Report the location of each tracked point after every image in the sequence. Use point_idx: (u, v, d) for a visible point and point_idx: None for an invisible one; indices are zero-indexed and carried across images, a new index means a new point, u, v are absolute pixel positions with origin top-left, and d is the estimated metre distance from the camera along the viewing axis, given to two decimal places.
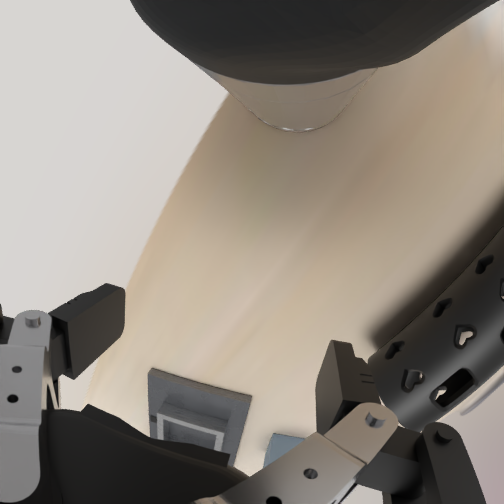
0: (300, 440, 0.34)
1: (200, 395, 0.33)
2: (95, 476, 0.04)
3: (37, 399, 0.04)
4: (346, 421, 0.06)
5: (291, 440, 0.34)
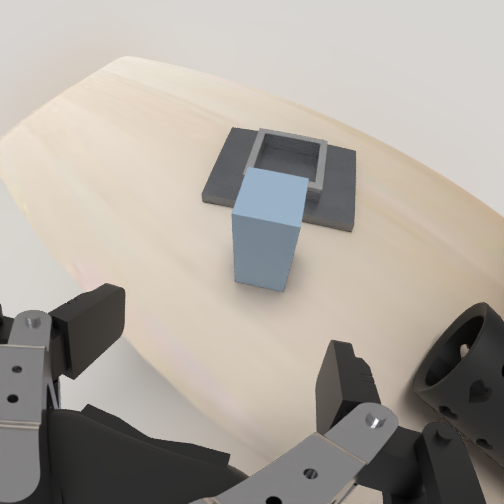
0: None
1: (348, 184, 0.34)
2: (95, 476, 0.04)
3: (37, 399, 0.04)
4: (346, 421, 0.06)
5: None
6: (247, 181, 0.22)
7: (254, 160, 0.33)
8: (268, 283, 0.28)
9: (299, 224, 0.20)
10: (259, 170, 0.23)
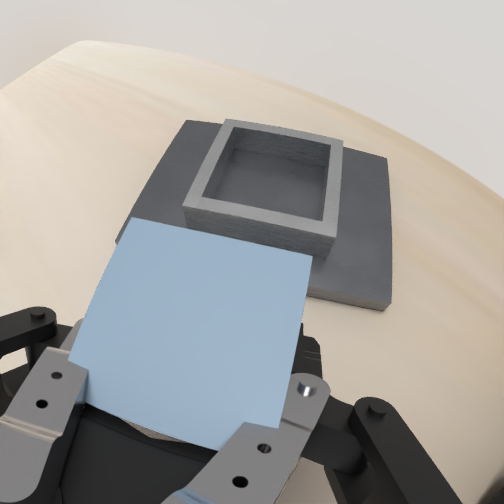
0: None
1: (380, 220, 0.19)
2: (95, 476, 0.04)
3: (67, 410, 0.04)
4: None
5: None
6: (118, 269, 0.07)
7: (207, 177, 0.18)
8: None
9: None
10: (160, 229, 0.07)
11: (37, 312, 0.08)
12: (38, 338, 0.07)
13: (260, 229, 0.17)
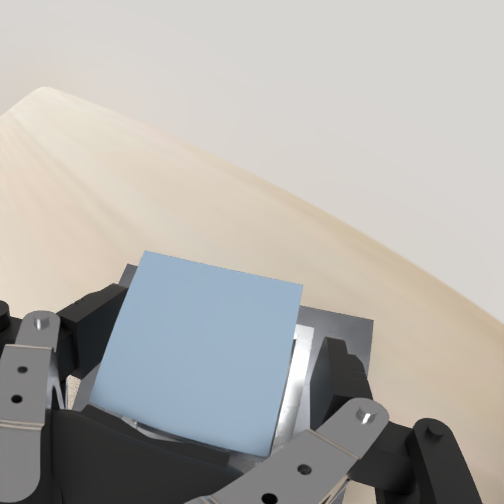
0: None
1: None
2: (95, 476, 0.04)
3: (41, 400, 0.04)
4: (336, 415, 0.06)
5: None
6: (136, 297, 0.08)
7: None
8: None
9: (265, 447, 0.06)
10: (171, 262, 0.09)
11: None
12: None
13: None
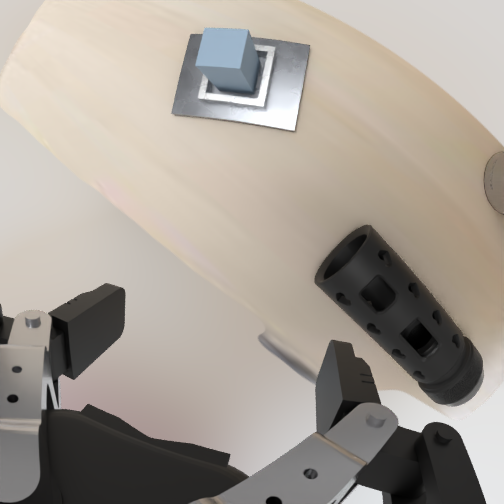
0: (255, 86, 0.35)
1: (295, 87, 0.35)
2: (95, 476, 0.04)
3: (37, 399, 0.04)
4: (346, 421, 0.06)
5: (256, 77, 0.35)
6: (204, 39, 0.26)
7: (206, 81, 0.35)
8: (241, 91, 0.35)
9: (239, 66, 0.26)
10: (212, 29, 0.26)
11: None
12: None
13: (232, 103, 0.35)
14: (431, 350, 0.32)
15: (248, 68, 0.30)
